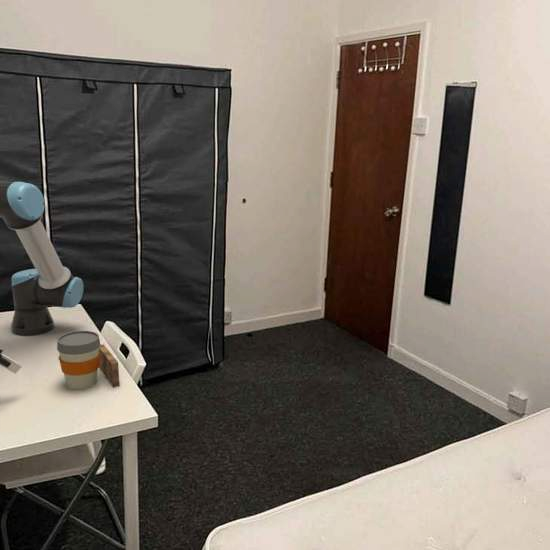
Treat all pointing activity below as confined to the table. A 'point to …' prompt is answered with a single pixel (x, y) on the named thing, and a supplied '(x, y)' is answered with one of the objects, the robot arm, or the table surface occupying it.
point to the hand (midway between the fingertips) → (18, 369)
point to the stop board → (109, 366)
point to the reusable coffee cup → (79, 358)
